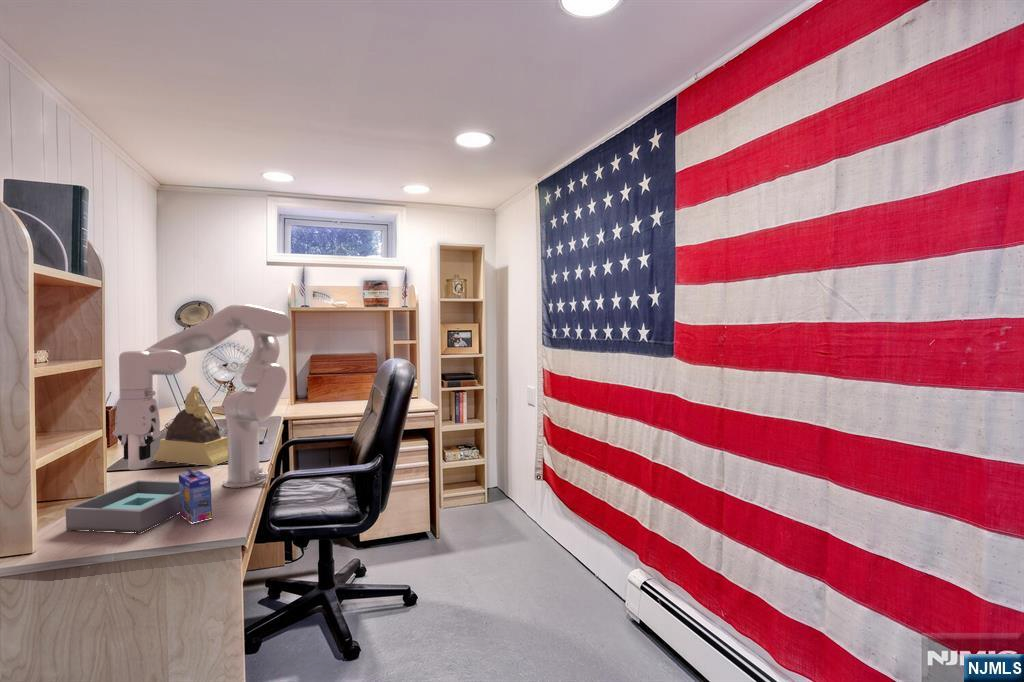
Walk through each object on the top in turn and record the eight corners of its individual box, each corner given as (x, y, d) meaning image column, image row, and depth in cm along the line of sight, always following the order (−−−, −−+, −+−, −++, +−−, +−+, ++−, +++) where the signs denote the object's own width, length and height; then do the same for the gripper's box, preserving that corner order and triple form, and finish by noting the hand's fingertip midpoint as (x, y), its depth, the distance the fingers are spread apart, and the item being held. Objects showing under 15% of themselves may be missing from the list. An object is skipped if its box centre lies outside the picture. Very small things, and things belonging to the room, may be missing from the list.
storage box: (202, 501, 152) (202, 482, 152) (140, 534, 129) (140, 511, 129) (138, 499, 154) (137, 480, 153) (66, 530, 131) (65, 508, 130)
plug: (149, 465, 142) (149, 431, 142) (138, 470, 138) (137, 434, 138) (136, 465, 143) (136, 431, 142) (124, 469, 139) (124, 434, 138)
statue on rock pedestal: (239, 458, 200) (238, 384, 198) (212, 467, 187) (211, 388, 186) (183, 452, 207) (181, 381, 205) (154, 461, 194) (152, 385, 193)
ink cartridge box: (178, 516, 141) (177, 466, 140) (200, 510, 145) (199, 462, 145) (190, 525, 135) (189, 473, 134) (213, 519, 139) (212, 468, 138)
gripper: (174, 393, 143) (175, 456, 144) (120, 392, 144) (121, 454, 145) (153, 397, 135) (154, 463, 136) (96, 395, 137) (97, 461, 137)
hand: (137, 457), depth 140 cm, fingers closed on plug, 4 cm apart
